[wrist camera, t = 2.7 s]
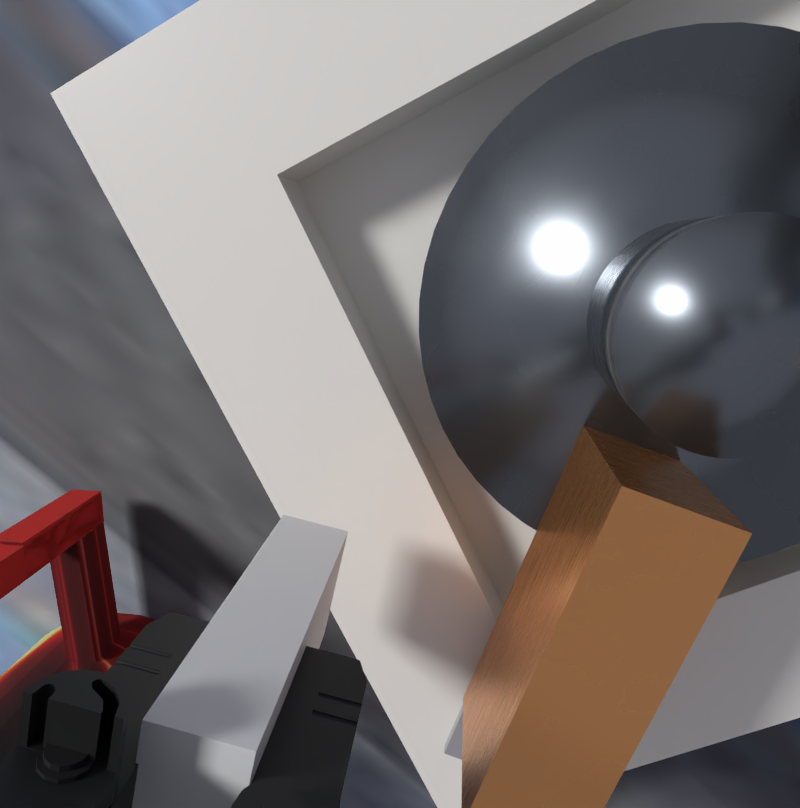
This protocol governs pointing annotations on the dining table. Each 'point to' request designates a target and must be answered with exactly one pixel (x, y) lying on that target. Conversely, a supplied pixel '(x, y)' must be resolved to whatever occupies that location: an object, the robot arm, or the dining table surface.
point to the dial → (620, 382)
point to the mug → (63, 598)
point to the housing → (380, 313)
